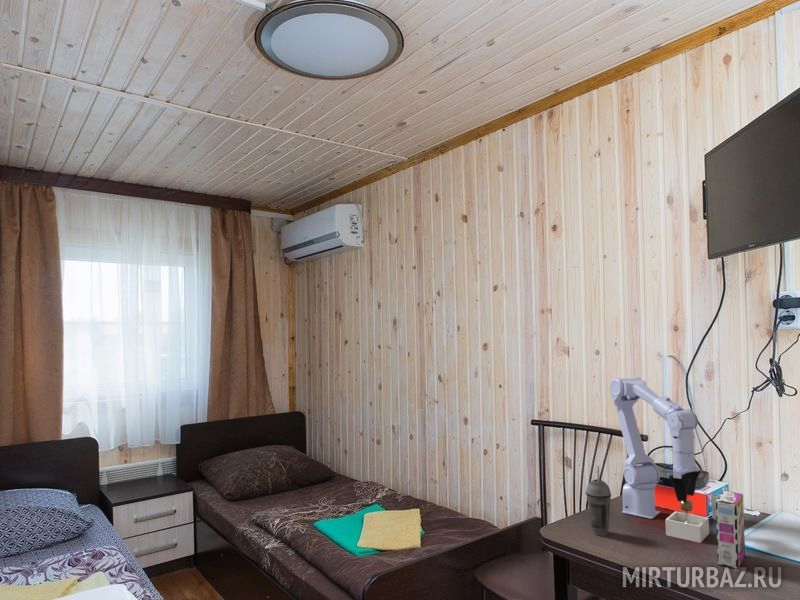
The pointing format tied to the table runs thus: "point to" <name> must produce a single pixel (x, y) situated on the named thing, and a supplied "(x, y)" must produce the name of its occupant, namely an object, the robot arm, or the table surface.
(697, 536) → the white framed panel box
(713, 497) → the skincare box
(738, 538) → the pink printed carton
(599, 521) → the beverage cup
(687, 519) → the plunger
